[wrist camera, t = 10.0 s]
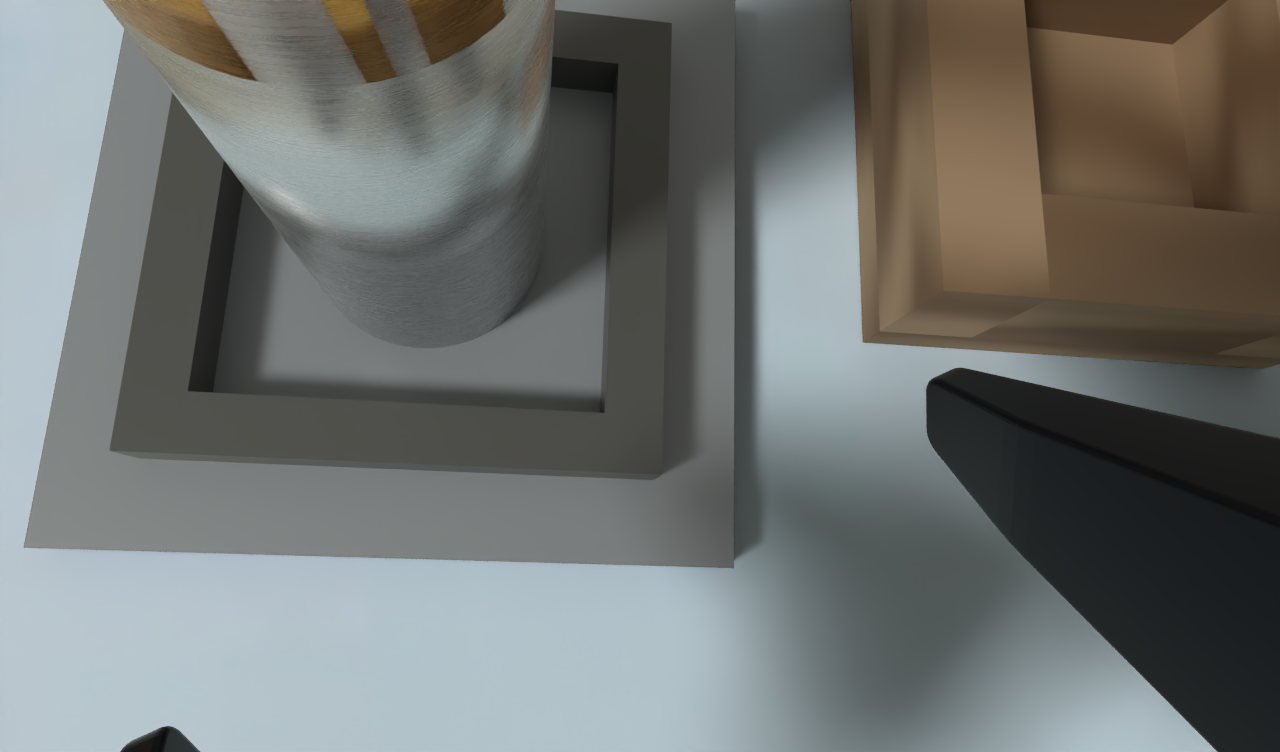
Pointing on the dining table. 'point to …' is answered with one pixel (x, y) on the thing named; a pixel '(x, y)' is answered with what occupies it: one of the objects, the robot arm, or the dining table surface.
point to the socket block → (1071, 177)
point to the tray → (417, 377)
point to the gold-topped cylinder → (378, 142)
